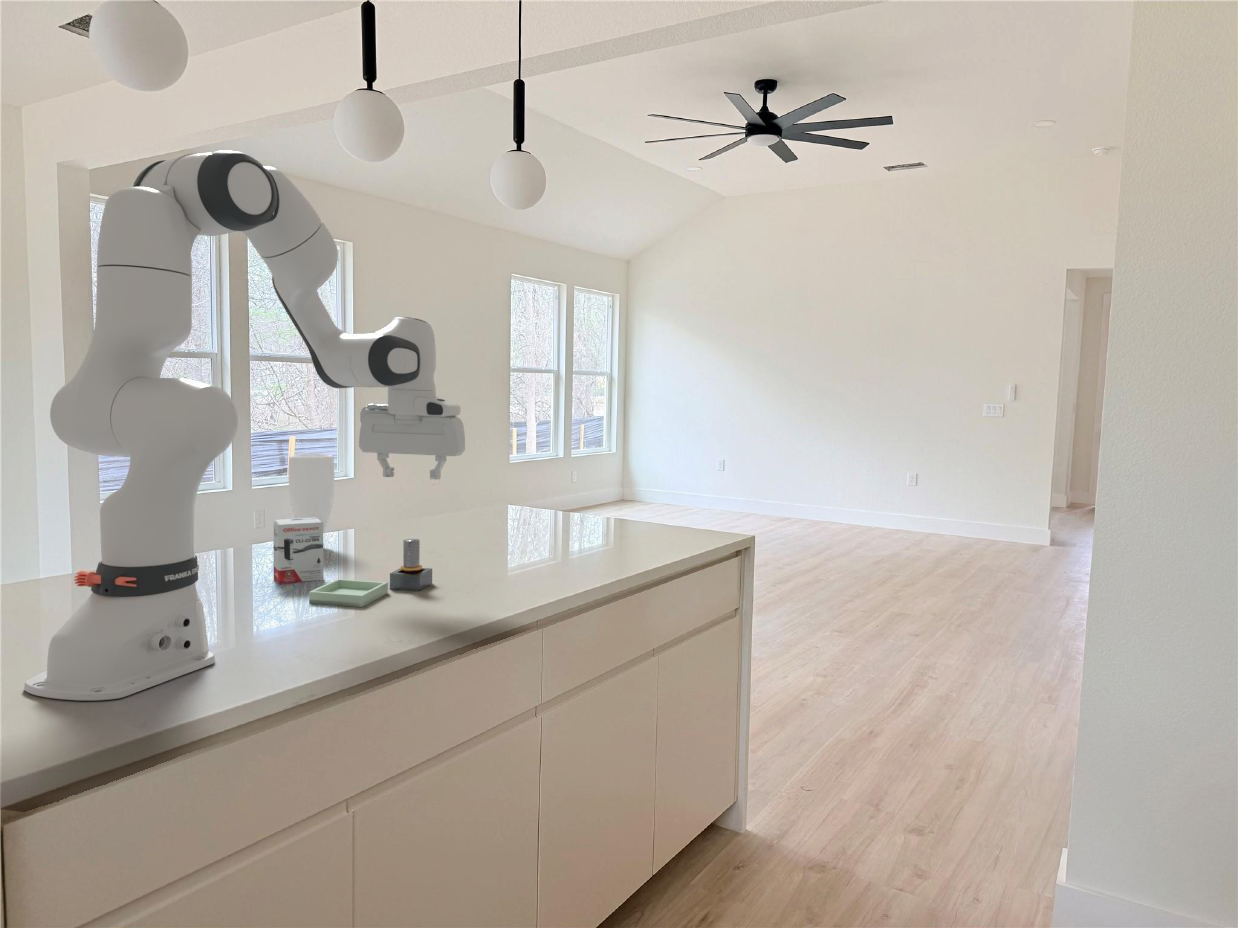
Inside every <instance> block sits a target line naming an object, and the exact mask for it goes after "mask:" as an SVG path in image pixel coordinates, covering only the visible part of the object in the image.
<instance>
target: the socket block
mask: <svg viewBox="0 0 1238 928" xmlns="http://www.w3.org/2000/svg"><path fill="white" fill-rule="evenodd" d="M432 584H433V568H429V567H428V568H427V567H422V570H420V571H419V573H418V574H409V573H403V571H401V567H400V568H397V569H396V570H393V571H391V572H390V573H389V589H390V590H402V591H414V592H416V591H417V592H421V591H422V590H424V589H427V588H428V587H429V586H431V585H432Z"/></svg>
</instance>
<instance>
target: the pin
mask: <svg viewBox="0 0 1238 928" xmlns="http://www.w3.org/2000/svg"><path fill="white" fill-rule="evenodd" d="M402 545H403V548H402V549H403V550H402V551H403V552H402V554H403V555H402V556H403V565H400V568H401V571H403V573H409V574H418V573H419V571H420V570H422V568H423V565H421V564H420V555H421V554H420V551H421V550H420V548H421V547H420V545H421V543H420V539H417V538H406V539H403V544H402Z"/></svg>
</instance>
